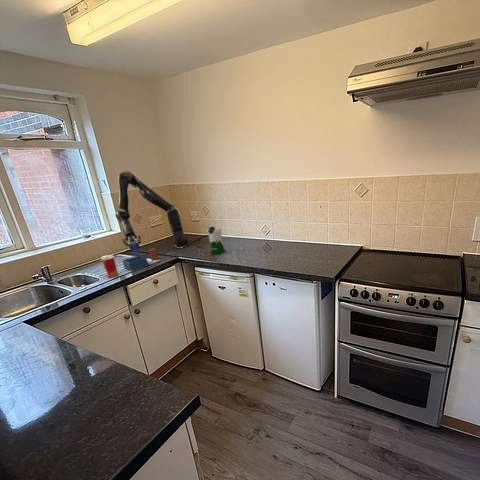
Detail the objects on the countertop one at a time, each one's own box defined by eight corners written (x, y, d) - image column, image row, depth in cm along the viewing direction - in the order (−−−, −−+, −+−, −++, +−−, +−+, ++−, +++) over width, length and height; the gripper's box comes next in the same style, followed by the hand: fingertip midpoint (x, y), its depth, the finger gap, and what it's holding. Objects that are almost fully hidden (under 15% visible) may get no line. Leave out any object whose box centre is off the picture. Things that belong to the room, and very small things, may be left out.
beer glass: (110, 274, 203) (103, 255, 198) (121, 273, 203) (115, 253, 198) (105, 279, 196) (98, 258, 190) (116, 277, 196) (110, 257, 191)
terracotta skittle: (156, 258, 229) (153, 248, 226) (158, 259, 226) (156, 249, 223) (150, 260, 226) (147, 249, 223) (153, 260, 223) (150, 250, 220)
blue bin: (141, 262, 222) (139, 255, 220) (148, 264, 214) (146, 257, 212) (124, 267, 214) (122, 260, 212) (131, 270, 206) (129, 262, 204)
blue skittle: (137, 251, 239) (134, 242, 236) (140, 252, 236) (137, 242, 233) (132, 253, 236) (129, 243, 233) (134, 254, 233) (131, 244, 230)
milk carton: (210, 254, 222) (204, 228, 214) (217, 250, 229) (212, 225, 222) (219, 254, 218) (214, 228, 211) (226, 251, 225) (221, 225, 218)
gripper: (118, 230, 232) (124, 248, 227) (137, 226, 239) (144, 243, 233) (119, 235, 239) (125, 253, 233) (138, 231, 245) (145, 248, 239)
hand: (135, 248), depth 233 cm, fingers closed on blue skittle, 4 cm apart
